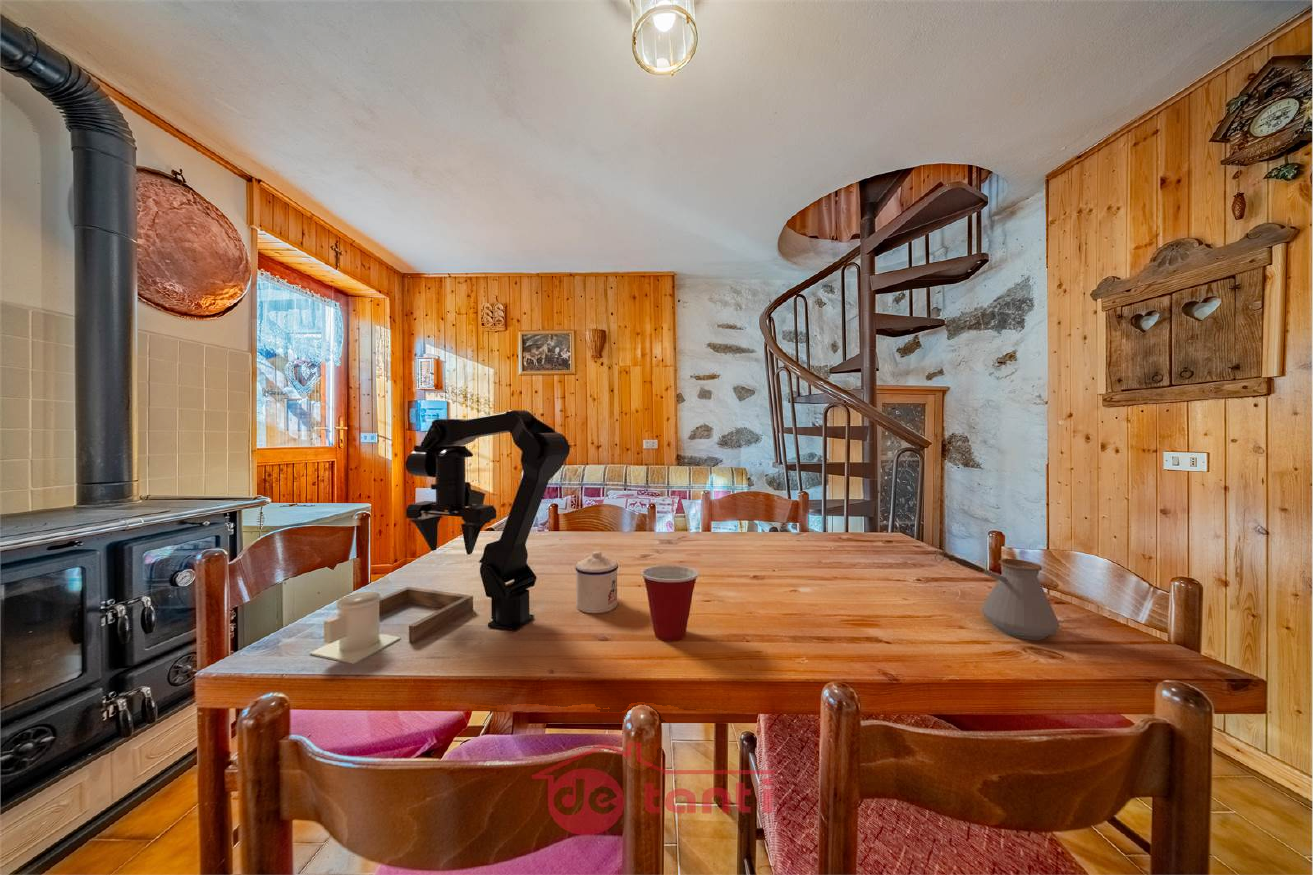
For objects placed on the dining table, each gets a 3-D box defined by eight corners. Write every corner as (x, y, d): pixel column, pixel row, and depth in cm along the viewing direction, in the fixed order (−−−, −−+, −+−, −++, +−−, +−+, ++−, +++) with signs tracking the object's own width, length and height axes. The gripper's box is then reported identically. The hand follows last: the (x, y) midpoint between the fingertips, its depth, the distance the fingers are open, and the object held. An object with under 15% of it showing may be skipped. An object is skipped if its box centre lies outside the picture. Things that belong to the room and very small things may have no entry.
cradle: (473, 609, 95) (473, 595, 95) (414, 643, 81) (414, 626, 80) (408, 600, 100) (407, 586, 100) (341, 629, 86) (341, 614, 86)
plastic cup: (697, 621, 90) (697, 561, 89) (700, 648, 79) (701, 580, 79) (642, 620, 90) (642, 560, 90) (638, 647, 79) (638, 579, 79)
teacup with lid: (617, 614, 93) (617, 558, 93) (573, 615, 92) (573, 558, 92) (618, 592, 105) (618, 542, 105) (579, 593, 104) (578, 543, 104)
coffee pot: (1024, 618, 92) (1026, 544, 91) (1076, 645, 80) (1079, 561, 80) (918, 617, 92) (919, 543, 91) (955, 644, 80) (956, 561, 80)
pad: (400, 638, 82) (400, 637, 82) (353, 663, 74) (353, 662, 74) (359, 631, 85) (358, 629, 85) (309, 654, 77) (309, 652, 77)
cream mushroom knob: (362, 632, 84) (362, 590, 84) (389, 637, 82) (388, 594, 82) (313, 656, 75) (312, 608, 75) (342, 662, 74) (341, 613, 73)
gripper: (512, 476, 100) (512, 546, 100) (443, 473, 105) (444, 539, 106) (477, 482, 89) (478, 560, 90) (403, 478, 95) (404, 552, 95)
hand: (451, 552), depth 95 cm, fingers open, 9 cm apart
